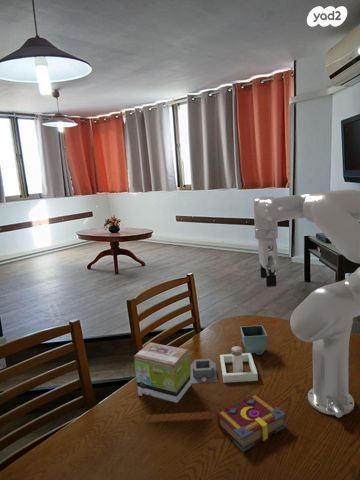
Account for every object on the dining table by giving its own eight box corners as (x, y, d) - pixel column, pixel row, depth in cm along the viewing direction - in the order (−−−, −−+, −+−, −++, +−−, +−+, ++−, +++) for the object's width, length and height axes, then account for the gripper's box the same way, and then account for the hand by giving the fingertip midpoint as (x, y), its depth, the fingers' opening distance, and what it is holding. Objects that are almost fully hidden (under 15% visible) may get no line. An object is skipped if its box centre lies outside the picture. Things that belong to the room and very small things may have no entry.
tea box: (137, 396, 114) (132, 355, 112) (153, 379, 123) (149, 340, 120) (178, 407, 107) (173, 363, 104) (192, 388, 116) (188, 347, 113)
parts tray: (258, 384, 115) (257, 373, 114) (223, 386, 116) (223, 375, 115) (251, 362, 128) (250, 352, 127) (220, 364, 129) (219, 354, 128)
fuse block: (217, 385, 116) (217, 373, 115) (190, 387, 117) (189, 375, 116) (215, 366, 128) (214, 354, 127) (190, 367, 128) (189, 356, 128)
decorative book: (217, 427, 98) (215, 411, 97) (260, 404, 106) (260, 389, 105) (243, 453, 88) (242, 436, 87) (289, 426, 96) (288, 410, 95)
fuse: (244, 374, 120) (242, 351, 118) (233, 374, 120) (232, 351, 118) (242, 368, 123) (241, 345, 121) (232, 369, 123) (231, 346, 122)
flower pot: (268, 357, 131) (267, 335, 129) (244, 359, 131) (243, 336, 129) (263, 346, 139) (262, 324, 138) (241, 347, 140) (239, 326, 138)
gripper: (284, 237, 110) (285, 289, 114) (271, 228, 127) (273, 273, 131) (260, 239, 111) (262, 290, 114) (250, 230, 128) (253, 275, 131)
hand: (268, 281), depth 122 cm, fingers open, 9 cm apart
